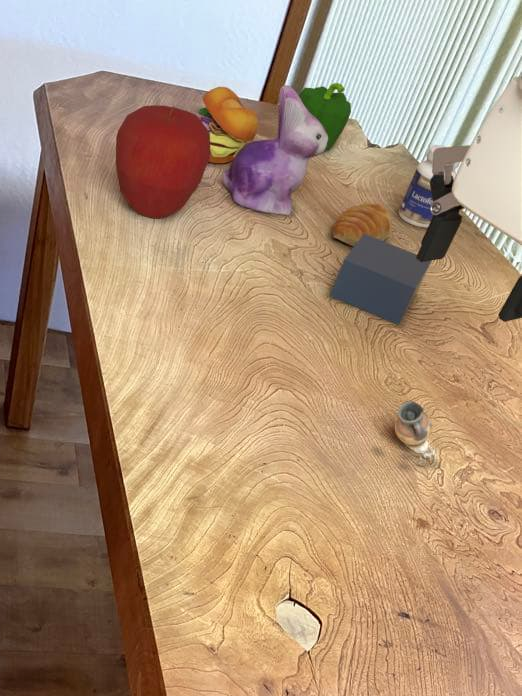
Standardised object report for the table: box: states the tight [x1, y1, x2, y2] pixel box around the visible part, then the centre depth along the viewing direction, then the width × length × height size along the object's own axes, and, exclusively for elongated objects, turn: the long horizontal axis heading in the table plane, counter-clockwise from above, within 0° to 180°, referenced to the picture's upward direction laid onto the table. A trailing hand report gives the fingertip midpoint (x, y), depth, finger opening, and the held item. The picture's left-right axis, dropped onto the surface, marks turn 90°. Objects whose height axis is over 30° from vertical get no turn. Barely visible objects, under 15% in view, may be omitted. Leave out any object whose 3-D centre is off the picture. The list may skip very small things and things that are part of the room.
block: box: [329, 234, 433, 325], centre depth 110 cm, size 9×9×5 cm
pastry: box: [331, 201, 393, 247], centre depth 121 cm, size 9×7×4 cm
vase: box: [394, 394, 438, 464], centre depth 87 cm, size 5×5×6 cm
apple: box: [115, 104, 211, 219], centre depth 112 cm, size 12×12×13 cm
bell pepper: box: [298, 82, 352, 152], centre depth 141 cm, size 8×8×10 cm
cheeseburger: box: [191, 86, 259, 164], centre depth 132 cm, size 10×11×10 cm
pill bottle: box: [398, 144, 461, 229], centre depth 128 cm, size 6×6×10 cm
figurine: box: [221, 84, 328, 216], centre depth 120 cm, size 9×10×15 cm
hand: (468, 287), depth 77 cm, fingers open, 9 cm apart
